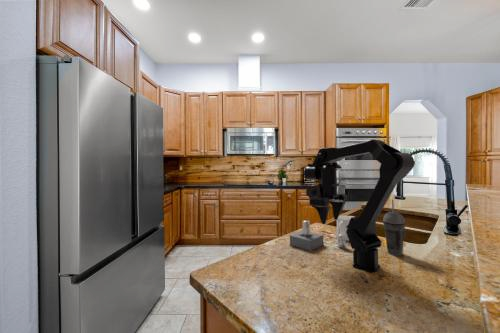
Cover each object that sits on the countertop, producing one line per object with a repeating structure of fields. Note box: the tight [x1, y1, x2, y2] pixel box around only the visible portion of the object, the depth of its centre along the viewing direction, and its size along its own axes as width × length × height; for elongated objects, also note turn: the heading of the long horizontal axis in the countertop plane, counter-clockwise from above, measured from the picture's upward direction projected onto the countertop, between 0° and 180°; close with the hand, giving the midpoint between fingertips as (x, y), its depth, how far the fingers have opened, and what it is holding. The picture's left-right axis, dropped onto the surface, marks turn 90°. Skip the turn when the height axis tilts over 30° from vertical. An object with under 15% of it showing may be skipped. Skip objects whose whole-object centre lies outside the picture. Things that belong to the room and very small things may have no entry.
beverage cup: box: [382, 198, 406, 257], centre depth 85 cm, size 7×7×20 cm
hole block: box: [289, 230, 324, 252], centre depth 97 cm, size 10×10×4 cm
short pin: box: [337, 234, 347, 250], centre depth 93 cm, size 3×3×5 cm
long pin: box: [301, 220, 311, 238], centre depth 97 cm, size 3×3×10 cm
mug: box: [336, 215, 355, 242], centre depth 104 cm, size 12×9×9 cm
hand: (329, 221), depth 87 cm, fingers open, 9 cm apart
